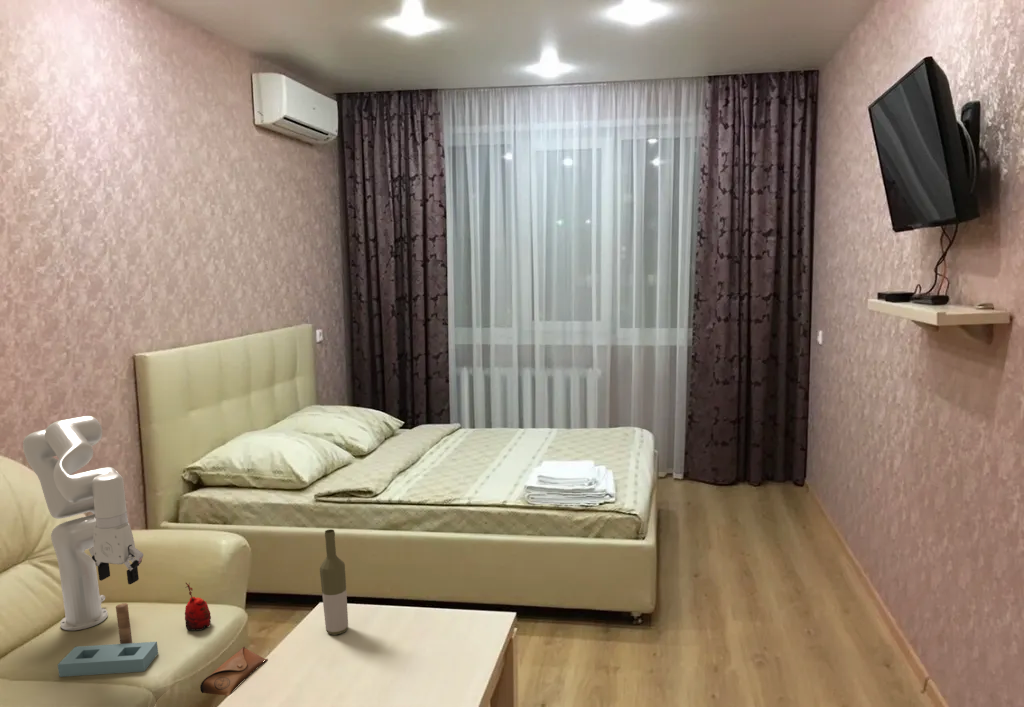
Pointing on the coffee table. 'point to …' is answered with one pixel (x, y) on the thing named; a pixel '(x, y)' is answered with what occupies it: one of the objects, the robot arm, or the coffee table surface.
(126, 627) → the peg
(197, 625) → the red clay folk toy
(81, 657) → the hole block
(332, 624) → the bottle
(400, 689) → the coffee table surface
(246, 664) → the sunglasses case
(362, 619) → the coffee table surface
